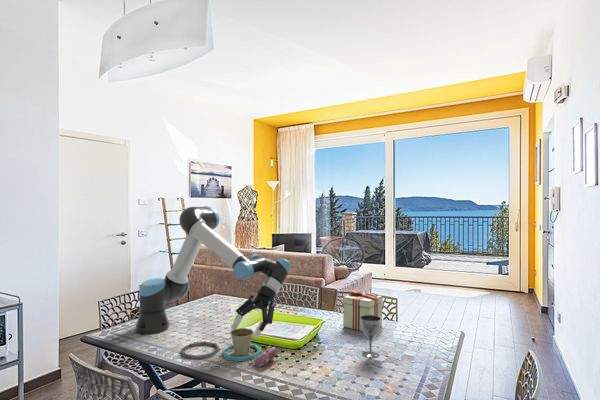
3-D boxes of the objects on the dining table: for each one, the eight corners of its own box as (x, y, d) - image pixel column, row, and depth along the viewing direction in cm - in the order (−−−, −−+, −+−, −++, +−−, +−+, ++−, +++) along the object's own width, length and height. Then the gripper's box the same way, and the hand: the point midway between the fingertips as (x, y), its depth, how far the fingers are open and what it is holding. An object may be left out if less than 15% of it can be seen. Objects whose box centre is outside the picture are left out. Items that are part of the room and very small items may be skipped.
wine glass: (368, 360, 146) (368, 322, 146) (356, 352, 153) (356, 316, 153) (384, 356, 150) (384, 319, 150) (372, 349, 157) (372, 313, 157)
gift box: (385, 323, 190) (385, 289, 190) (371, 334, 175) (371, 297, 175) (354, 317, 199) (354, 285, 199) (339, 327, 184) (339, 292, 184)
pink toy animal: (260, 372, 139) (267, 357, 137) (252, 364, 141) (258, 349, 140) (275, 362, 148) (282, 348, 146) (267, 355, 150) (273, 341, 148)
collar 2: (219, 349, 156) (219, 346, 156) (253, 343, 162) (253, 341, 162) (228, 363, 143) (228, 360, 143) (264, 356, 149) (264, 353, 149)
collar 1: (179, 348, 158) (179, 345, 158) (214, 342, 164) (214, 339, 164) (184, 361, 144) (184, 358, 144) (222, 354, 151) (222, 351, 151)
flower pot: (248, 359, 147) (248, 337, 147) (226, 356, 149) (226, 335, 149) (256, 349, 156) (256, 329, 156) (235, 347, 158) (235, 327, 158)
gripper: (294, 299, 158) (269, 345, 147) (254, 290, 174) (228, 330, 163) (286, 289, 154) (259, 335, 143) (245, 280, 170) (219, 321, 159)
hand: (243, 333), depth 153 cm, fingers open, 13 cm apart
